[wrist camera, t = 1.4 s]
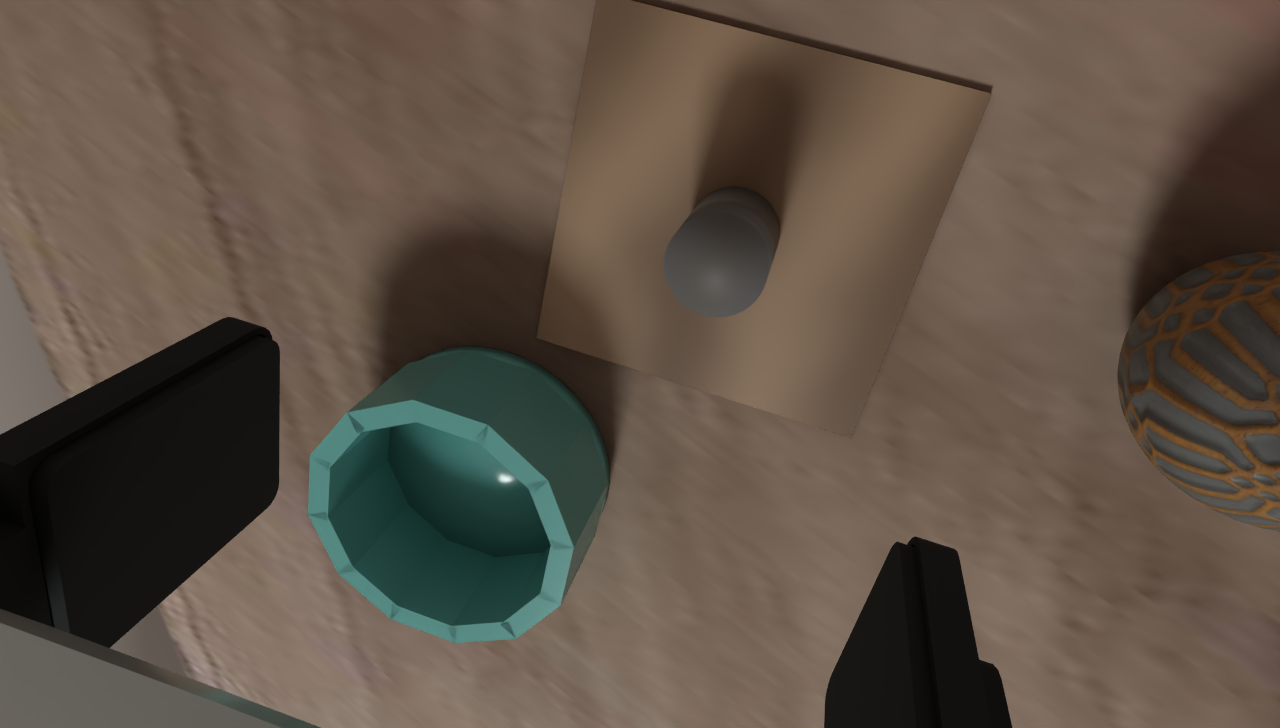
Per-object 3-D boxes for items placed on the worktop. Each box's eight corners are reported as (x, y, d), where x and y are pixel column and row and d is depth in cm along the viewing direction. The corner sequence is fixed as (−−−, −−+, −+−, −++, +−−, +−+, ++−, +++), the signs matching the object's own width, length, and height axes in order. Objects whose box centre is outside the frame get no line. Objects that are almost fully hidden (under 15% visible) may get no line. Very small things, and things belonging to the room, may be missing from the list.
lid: (987, 90, 24) (1016, 111, 19) (851, 427, 29) (850, 500, 25) (605, -8, 25) (553, -10, 21) (543, 330, 30) (492, 384, 26)
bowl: (633, 392, 30) (594, 460, 25) (584, 589, 34) (544, 676, 30) (390, 314, 31) (312, 366, 27) (374, 514, 36) (305, 587, 31)
